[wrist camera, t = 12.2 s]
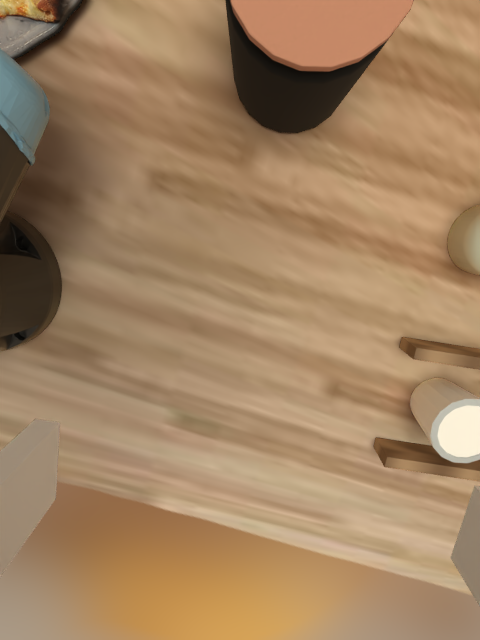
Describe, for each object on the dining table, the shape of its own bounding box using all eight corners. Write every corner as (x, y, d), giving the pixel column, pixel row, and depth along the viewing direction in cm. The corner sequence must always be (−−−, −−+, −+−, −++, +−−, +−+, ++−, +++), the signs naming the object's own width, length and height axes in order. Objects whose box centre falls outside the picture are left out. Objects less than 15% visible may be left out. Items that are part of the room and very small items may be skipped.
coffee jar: (369, 49, 38) (472, -99, 20) (310, 156, 40) (356, 106, 23) (269, -14, 37) (287, -227, 19) (214, 100, 39) (185, 2, 22)
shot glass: (433, 360, 45) (466, 385, 38) (479, 395, 46) (519, 426, 39) (391, 406, 46) (415, 438, 39) (436, 439, 47) (468, 476, 40)
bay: (373, 446, 47) (384, 466, 43) (401, 336, 44) (416, 347, 40) (485, 463, 48) (506, 485, 44) (521, 355, 44) (547, 368, 41)
